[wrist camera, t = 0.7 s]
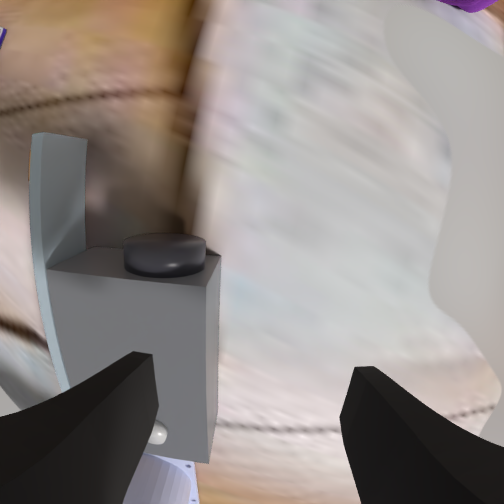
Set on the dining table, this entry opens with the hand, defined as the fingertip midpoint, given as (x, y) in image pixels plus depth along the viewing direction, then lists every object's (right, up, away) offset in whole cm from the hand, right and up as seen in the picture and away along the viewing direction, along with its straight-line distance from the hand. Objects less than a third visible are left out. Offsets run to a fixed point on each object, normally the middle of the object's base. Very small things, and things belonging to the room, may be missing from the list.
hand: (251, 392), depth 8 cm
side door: (-11, +2, +9) cm, 14 cm away
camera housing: (-6, -2, +10) cm, 12 cm away
